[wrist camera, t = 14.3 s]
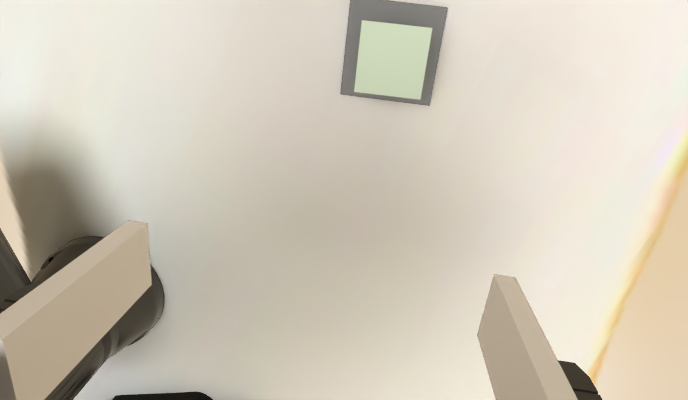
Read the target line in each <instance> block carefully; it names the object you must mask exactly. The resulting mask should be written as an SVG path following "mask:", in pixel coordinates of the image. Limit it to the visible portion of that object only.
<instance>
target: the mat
mask: <svg viewBox="0 0 688 400" xmlns="http://www.w3.org/2000/svg"><path fill="white" fill-rule="evenodd" d="M447 9H448V8H447V7H438V6H430V5H421V4H413V3H405V2H396V1H388V0H350V9H349V18H348V27H347V37H346V46H345V55H344V65H343V74H342V83H341V93H340V94H343V95H350V96H358V97H366V98H374V99H381V100H389V101H397V102H405V103H412V104H420V105H428V106H430V100H431V95H432V89H433V84H434V79H435V73H436V68H437V63H438V57H439V52H440V46H441V41H442V36H443V30H444V25H445V20H446V14H447ZM362 20H365V21H374V22H383V23H392V24H401V25H410V26H419V27H428V28H432V34H431V40H430V46H429V52H428V58H427V64H426V70H425V76H424V82H423V88H422V94H421V100H418V99H410V98H401V97H393V96H385V95H376V94H368V93H359V92H354V88H355V79H356V69H357V60H358V51H359V42H360V33H361V24H362Z"/></svg>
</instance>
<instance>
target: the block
mask: <svg viewBox="0 0 688 400" xmlns="http://www.w3.org/2000/svg"><path fill="white" fill-rule="evenodd" d="M431 34H432V28H428V27H419V26H410V25H401V24H392V23H383V22H374V21H365V20H362V24H361V33H360V42H359V51H358V60H357V69H356V79H355V88H354V92H359V93H368V94H376V95H385V96H393V97H401V98H410V99H418V100H421V94H422V88H423V82H424V76H425V70H426V64H427V58H428V52H429V46H430V40H431Z"/></svg>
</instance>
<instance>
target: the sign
mask: <svg viewBox="0 0 688 400" xmlns="http://www.w3.org/2000/svg"><path fill="white" fill-rule="evenodd" d="M113 400H213V399H212V398H210V397H209V396H207V395H206V394H204V393H201V392H184V393H162V394H138V395H119V396H115V397H114V398H113Z"/></svg>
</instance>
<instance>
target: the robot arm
mask: <svg viewBox="0 0 688 400" xmlns="http://www.w3.org/2000/svg"><path fill="white" fill-rule="evenodd" d="M163 305H164V295H163V289H162V286H161V283H160V281H159V278H158V276H157V275H156V273H155V271H154V270H153V269H152V267H151V266H150V251H149V236H148V223H142V222H136V221H129V220H128V221H127V222H125V223H124V224H123V225H121V226H120V227H119V228H117V229H116V230H114V231H113V232H112V233H110V234H109V235H108V236H106V237H105V238H102V237H83V238H79V239H75V240H73V241H71V242H69V243H67V244H66V245H64V246H63V247H61V248H60V249H58V250H57V251H55V252H54V253H53V254H52V255H50V256H49V257H48V259H47V260H46V261H45V263H44V264H43V266H42V267H41V270H40V271H39V272H38V273H37V274H36V276H35V277H34V279H33V280H32V282H31V281H30V280H29V278H28V276H27V274H26V273H25V271H24V269H23V267H22V266H21V264H20V262H19V260H18V259H17V257H16V255H15V253H14V252H13V250H12V248H11V247H10V245H9V243H8V241H7V240H6V238H5V236H4V234H3V233H2V231H1V229H0V400H73V399H74V397H75V396H76V395H77V394H78V393H79V392H80V390H81V389H82V388H83V387H84V386H85V384H86V383H87V382H88V381H89V380H90V379H91V377H92V376H93V375H94V374H95V373H96V372H97V370H98V369H99V368H100V367H101V366H102V364H103V363H104V362H105V361H106V360H107V359H108V358H110V357H111V356H113V355H114V354H116V353H117V352H119V351H120V350H122V349H123V348H124V347H126V346H128V345H131V344H133V343H135V342H137V341H138V340H140V339H141V338H143V337H144V336H145V335H146V334H147V333H148V332H149V331H150V330H151V328H152V327H153V326H154V325H155V323H156V322H157V321H158V319H159V318H160V316H161V313H162V310H163ZM477 336H478V339H479V343H480V346H481V350H482V353H483V357H484V360H485V364H486V367H487V371H488V374H489V378H490V381H491V384H492V388H493V391H494V395H495V398H496V400H602V398H601V396H600V395H598V391H597V390H596V388H595V386H594V384H593V383H592V381H591V379H590V377H589V376H588V375H587V374H586V373H585V372H584V371H582V370H581V369H580V368H579V367H578V366H577V365H576V364H575V363H571V362H565V361H558V360H557V358H556V356H555V354H554V352H553V350H552V348H551V346H550V344H549V342H548V340H547V338H546V336H545V334H544V332H543V330H542V329H541V327H540V325H539V323H538V321H537V319H536V317H535V315H534V313H533V311H532V309H531V307H530V305H529V303H528V301H527V299H526V297H525V295H524V293H523V291H522V289H521V287H520V285H519V283H518V281H517V280H516V278H515V277H509V276H502V275H496V274H494V277H493V281H492V284H491V288H490V291H489V295H488V298H487V302H486V305H485V309H484V312H483V316H482V319H481V323H480V326H479V330H478V333H477Z"/></svg>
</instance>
